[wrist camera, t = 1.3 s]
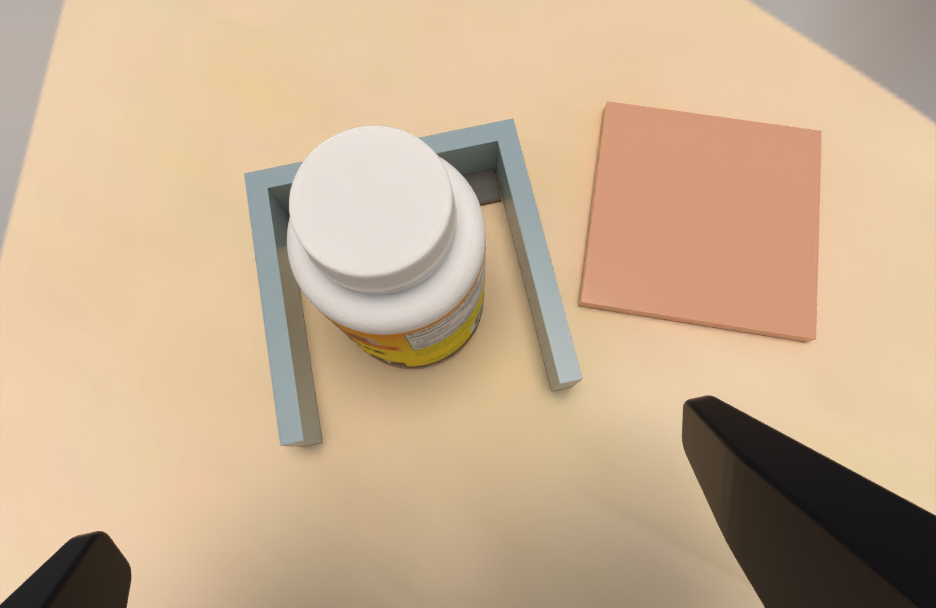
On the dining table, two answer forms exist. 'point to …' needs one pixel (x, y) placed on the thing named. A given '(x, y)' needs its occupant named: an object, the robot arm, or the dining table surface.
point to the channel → (477, 163)
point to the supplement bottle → (389, 245)
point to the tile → (705, 221)
